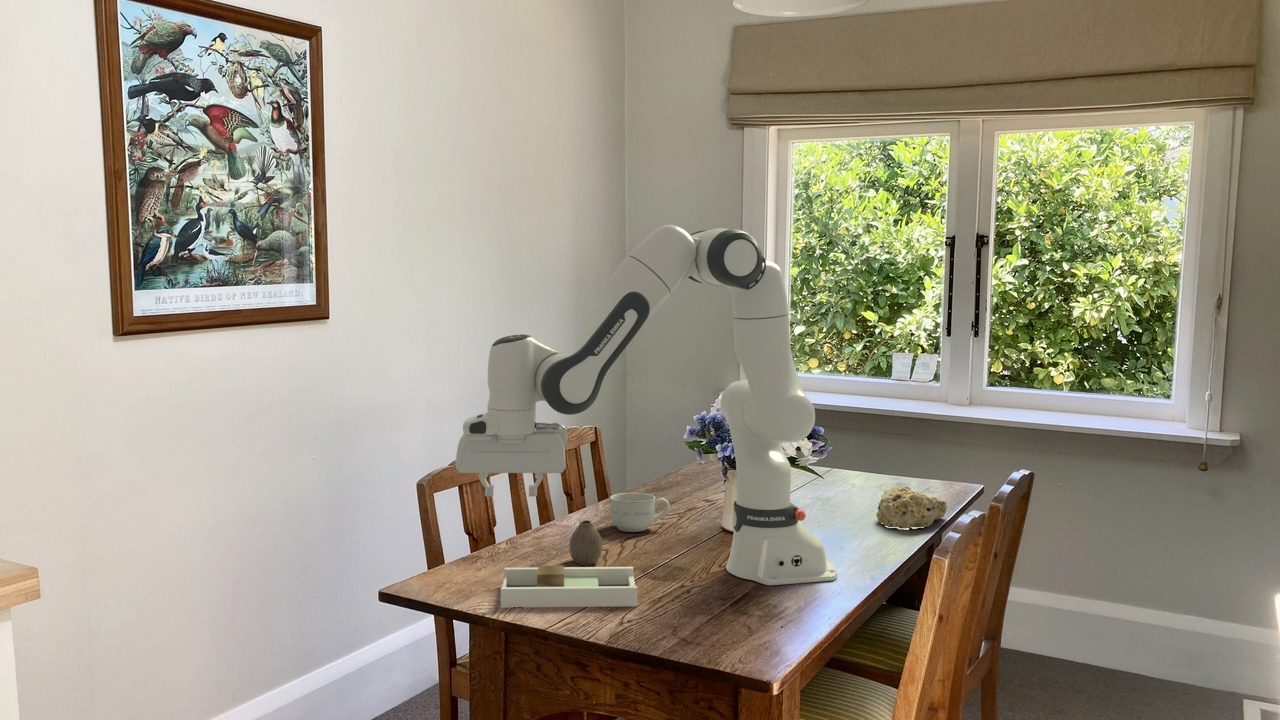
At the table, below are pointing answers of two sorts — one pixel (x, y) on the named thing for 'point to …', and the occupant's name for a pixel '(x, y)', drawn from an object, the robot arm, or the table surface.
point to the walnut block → (550, 576)
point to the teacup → (635, 511)
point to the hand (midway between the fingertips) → (511, 495)
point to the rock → (909, 508)
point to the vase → (585, 544)
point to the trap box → (571, 588)
